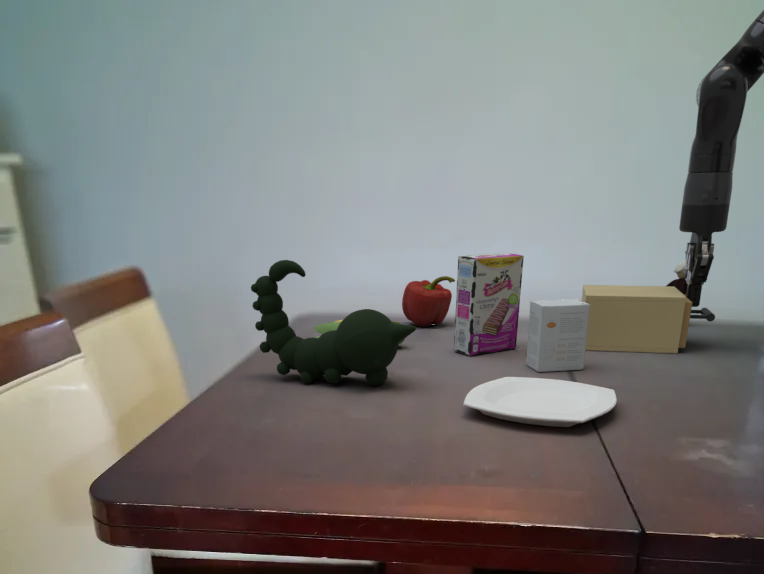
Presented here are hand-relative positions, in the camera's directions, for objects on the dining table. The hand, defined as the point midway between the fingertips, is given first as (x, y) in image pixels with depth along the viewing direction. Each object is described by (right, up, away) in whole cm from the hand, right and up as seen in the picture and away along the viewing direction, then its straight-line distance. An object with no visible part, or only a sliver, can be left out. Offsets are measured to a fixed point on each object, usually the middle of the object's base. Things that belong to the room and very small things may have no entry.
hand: (691, 306), depth 133 cm
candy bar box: (-37, -8, +1) cm, 38 cm away
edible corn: (-60, -5, +7) cm, 61 cm away
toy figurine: (-63, -17, -18) cm, 67 cm away
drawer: (-6, -5, +4) cm, 9 cm away
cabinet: (-10, -6, +5) cm, 13 cm away
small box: (-27, -13, -11) cm, 32 cm away
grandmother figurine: (+6, +2, +22) cm, 23 cm away
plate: (-34, -23, -33) cm, 53 cm away
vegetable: (-46, +2, +24) cm, 52 cm away
